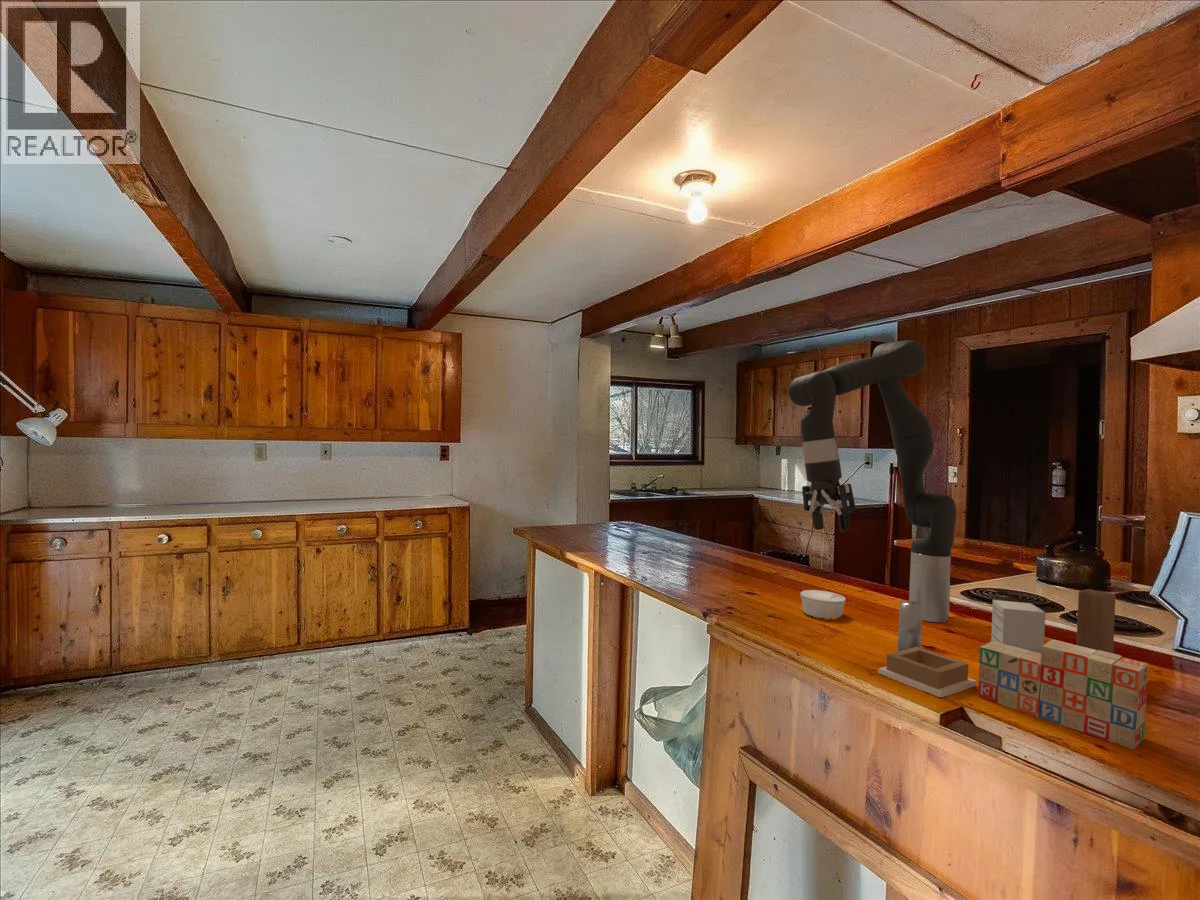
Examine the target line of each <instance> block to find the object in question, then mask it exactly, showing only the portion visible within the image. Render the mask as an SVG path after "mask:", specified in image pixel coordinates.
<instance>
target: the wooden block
mask: <svg viewBox="0 0 1200 900" xmlns="http://www.w3.org/2000/svg"><path fill="white" fill-rule="evenodd" d="M1116 596H1117V595H1116V594H1115V593H1113V592H1107V591H1101V590H1095V589H1091V588H1087V589H1086V588H1085V589H1083V590H1079V591H1078V596H1077V597H1078V601H1077V602H1078V603H1077V622H1076V623H1077V625H1076V644H1075V645H1078V646H1082V647H1086V648H1090V649H1094V650H1097V651H1098V650H1101V651H1105V652H1109V653H1113V654H1115V651H1114V641H1115V640H1114V639H1115V638H1114V637H1115V617H1116V616H1115V613H1116V598H1117V597H1116Z"/></svg>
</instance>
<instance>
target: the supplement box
mask: <svg viewBox="0 0 1200 900" xmlns="http://www.w3.org/2000/svg"><path fill="white" fill-rule="evenodd" d="M991 612H992V616H991V637H990V638H991V641H990V642H992V641H995V642H999V643H1003V644H1006V645H1010V646H1014V647H1018V648H1022V649H1025V650H1029V651H1032V652H1036V653H1040V654H1041V647H1042V645H1044V644H1045V634H1046V633H1045V631H1046V630H1045V629H1046V612H1045V611H1044V610H1043V609H1041V608H1040V607H1037V606H1036V605H1034V604H1033V603H1031V602H1030V603H1029V602H1020V601H1019V602H1018V601H1010V600H1009V601H1008V600H1000V599H999V600H998V599H992V611H991Z"/></svg>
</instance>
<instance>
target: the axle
mask: <svg viewBox="0 0 1200 900" xmlns="http://www.w3.org/2000/svg"><path fill="white" fill-rule="evenodd" d="M922 611H923V605H922V604H921V603H918V602H914V601H909V600H900V601H899V610H898V633H897V634H898V635H897V636H898V637H897V639H898V640H897V652H898V651H902V650H906V649H910V648H913V647H919V648H922V634H923V633H922V630H923V620H922Z"/></svg>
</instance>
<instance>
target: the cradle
mask: <svg viewBox="0 0 1200 900" xmlns="http://www.w3.org/2000/svg"><path fill="white" fill-rule="evenodd" d="M878 673H879V675H881V674H882V676H883V675H884V676H883V677H886V676H887V678H889V679H891V678H892V680H894V681H896V680H897V682H900V683H901V684H903V685H907V686H909V687H911V688H913V689H917V690H919V691H922V692H924V691H925V693H927V692H928V693H927V694H929V693H930V695H932V694H933V695H932V696H934V695H935V697H937V696H938V698H939V697H942V698H945V697H947V695H948V696H951V695H954V694H956V693H959V692H963V691H965V690H968V689H971V688H973V687H974V688H975V687H976V686H977V680H976V679H972V678H970V677H969V663H968V662H964V661H960V660H958V659H955V658H952V657H949V656H945V655H943V654H939V653H937V652H933V651H932V650H928V649H924V648H922V647H921V648H919V647H913V648H910V649H906V650H902V651H898V650H897V651H895V652H891V653H887V654H886V666H883V667H880V668H878ZM944 696H945V697H944Z"/></svg>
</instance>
